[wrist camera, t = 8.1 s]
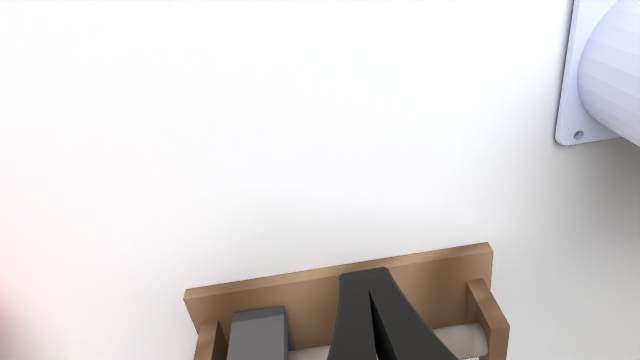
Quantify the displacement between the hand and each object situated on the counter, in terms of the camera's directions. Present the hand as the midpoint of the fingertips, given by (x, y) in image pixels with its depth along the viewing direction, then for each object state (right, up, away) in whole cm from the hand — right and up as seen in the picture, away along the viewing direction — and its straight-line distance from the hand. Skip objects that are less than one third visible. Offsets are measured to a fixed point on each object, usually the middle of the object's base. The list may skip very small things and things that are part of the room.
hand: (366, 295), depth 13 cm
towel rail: (0, -5, +15) cm, 16 cm away
